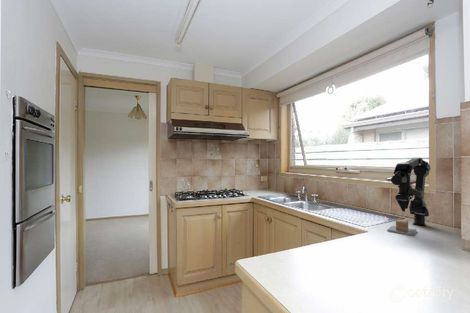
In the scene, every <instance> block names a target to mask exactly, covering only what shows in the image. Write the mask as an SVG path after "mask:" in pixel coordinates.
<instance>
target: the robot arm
mask: <svg viewBox="0 0 470 313" xmlns="http://www.w3.org/2000/svg"><path fill="white" fill-rule="evenodd" d="M430 171H431V165H430V163H429V162H428V161H425V160H424V159H423V158H422V157H412V158H411V159H409V160H407V161H405V162H397V163H396V165H395V166H394V171H393V174H394V175H392V176H391V178H390V182H391V184H393V185H394V186H397V188H398V192H397V194H396V195H395V198H394V199H395V200H396V201H397V203H398V205H399V207H400V209H401V211H402V212H406V209H408V208H409V209H408V210H409V214H410V215H413V223H412V225H415V226H420V227H426V226H427V223H426V217H430V211H429V210H428V206H427V203H426V202H425V199H424V197H425V186H426V178H427V176H428V175H429V174H430ZM412 173H413V174H414V175H415V186H414V188H413V187H412V185H411V176H412Z"/></svg>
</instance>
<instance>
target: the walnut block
mask: <svg viewBox="0 0 470 313" xmlns="http://www.w3.org/2000/svg"><path fill="white" fill-rule="evenodd" d="M395 226H396V230H401V231H407V230H408V228H409V220H405V219H404V220H403V219H398V218H397V220H395Z"/></svg>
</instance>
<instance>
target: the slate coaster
mask: <svg viewBox="0 0 470 313" xmlns="http://www.w3.org/2000/svg"><path fill="white" fill-rule="evenodd" d="M417 231H418V229H416V228H409V227H408V230H407V231H401V230H396V225H391V226H390V227H388V229H387V232H389V233H395V234H400V235H406V236H412V237H414V236H415V235H416V233H417Z"/></svg>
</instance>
